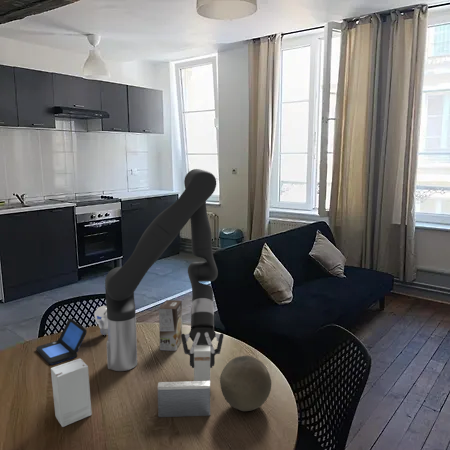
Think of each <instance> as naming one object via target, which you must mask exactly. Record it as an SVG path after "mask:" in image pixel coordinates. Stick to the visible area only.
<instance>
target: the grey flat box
mask: <svg viewBox="0 0 450 450" xmlns="http://www.w3.org/2000/svg"><path fill="white" fill-rule="evenodd" d="M157 410H158V414H157V415H158V418H170V417H171V418H173V417H174V418H176V417H210V416H211V380H210V381H194V380H193V381H191V380H190V381H188V380H187V381H158V383H157Z"/></svg>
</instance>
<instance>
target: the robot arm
mask: <svg viewBox="0 0 450 450" xmlns="http://www.w3.org/2000/svg"><path fill="white" fill-rule="evenodd" d="M183 184H184V188H185V189H184V190H183V192H182V193H181V195H180V196H179V197H178V198H177V200H175V201H174V202H173V203H172V204H171V205H169V206H168V207H167V208H165V209H164V210H163V211H162V212H160V213H159V214H158V215H157V216H156V217H155V218H154V219H153V220H152V222H150V224H149V225H148V226H147V228H146V229H145V230H144V232H143V233H142V235H141V237H140V238H139V240H138V242H137V244H136V246H135V247H134V250H133V252H132V254H131V255H130V257H128V259H127V260H126V261H125V263H124V264H123V265H122V266H116V267H115V268H112V269H111V270H110V271H108V272H107V274H106V276H105V278H104V280H105V281H104V286H105V287H104V288H105V289H104V290H105V306H106V309H107V325H108V334H107V341H106V357H107V358H106V359H107V360H106V361H107V369H108V370H112V371H115V372H124V371H130V370H131V369H134V368H135V367H136V366H137V365H138V349H137V348H138V342H137V340H138V339H137V316H136V304H135V303H136V302H135V301H136V300H135V291H136V290H137V288H138V286H139V285H140V283H141V281H142V280H143V279H144V277H145V275H146V274H147V273H148V271H149V270H150V269H151V268H152V266H153V265H154V264H155V263H156V262H157V261H158V259H159V258H160V257H161V256H162V255H163V253H164V252H165V251H166V250H167V248H169V246H170V245H171V244H172V243H173V242H174V240H175V238H177V237H178V235H179V234H180V232H181V231H182V230H183V228H184V227H185V226H186V224H187V223H188V222H189V220H190V235H191V251H192V256H194V257H197V258H202V259H204V260H205V261H192V262H191V263H189V265H188V267H187V275H188V278H189V282H190V286H191V290H192V291H191V292H192V293H191V295H192V297H191V307H190V308H191V309H190V331H189V333H182V334H181V339H182V341H181V343H182V347H183V352H184V353H183V354H184V355H188V357H189V366H190V367H191V369H194V346H196V345H208V346H210V369H213V367H214V366H215V364H216V362H215V359H216V358H215V356H216V355H221V350H222V345H223V341H224V336H225V335H224V333H217V332H216V331H215V308H214V291H213V288H212V286H211V285H209V284H205V283H206V282H215V280H216V279H217V278H218V275H219V272H218V267H217V266H218V265H217V264H216V261H215V258H214V254H213V245H212V244H213V239H212V236H213V235H212V229H211V224H210V220H209V215H208V211H207V201H208V199H209V198H210V197H211V196H212V195H214V192H215V190H216V187H217V179H216V177H215V175H214V174H213V173H212V172H210V171H208V170H206V169H205V170H204V169H201V168H194V169H192V170H189V171H188V172H187V173H186V175H185V176H184V179H183ZM201 282H202V283H201ZM203 282H205V283H203ZM215 338H216V341H217V345H216V348H214V346H213V340H215ZM189 339H190V340H191V341H192V344H191V348H190V349H189V348H188V343H187V342H188V341H189Z"/></svg>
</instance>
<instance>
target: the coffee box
mask: <svg viewBox="0 0 450 450" xmlns="http://www.w3.org/2000/svg"><path fill="white" fill-rule="evenodd" d="M182 302H183V301H182V300H173V299H171V300H165V301H164V302H163V303H162V304H161V305H160V306H159V307H158V319H159V320H158V321H159V325H158V326H159V351H169V352H170V351H172V352H176V351H177V350H178V348H179V346H180V345H181V343H182V339H181V334H183V320H182V319H183V317H182V316H183V314H182V313H183V311H182V310H183V308H182V305H183V304H182Z"/></svg>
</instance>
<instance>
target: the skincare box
mask: <svg viewBox="0 0 450 450" xmlns="http://www.w3.org/2000/svg"><path fill="white" fill-rule="evenodd" d="M50 373H51V374H50V375H51V385H52V395H53V403H54V404H53V405H54V414H55V418H56V420H57V421H58V423H59V425H60V426H61V427H62V428H64V427H66V426H68V425H71V424H74V423H76V422H78V421H81V420H83V419H86V418H88V417H90V416H92V415H93V414H92V402H91V389H90V388H91V387H90V376H89V375H90V374H89V366H88V364H86V363H85V362H84V360H83V359H81V358H80V357H79V358H76V359H74V360H71V361H70V360H69V361H68V362H64V363H62V364H59V365H56V366H53V367H51V368H50Z"/></svg>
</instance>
